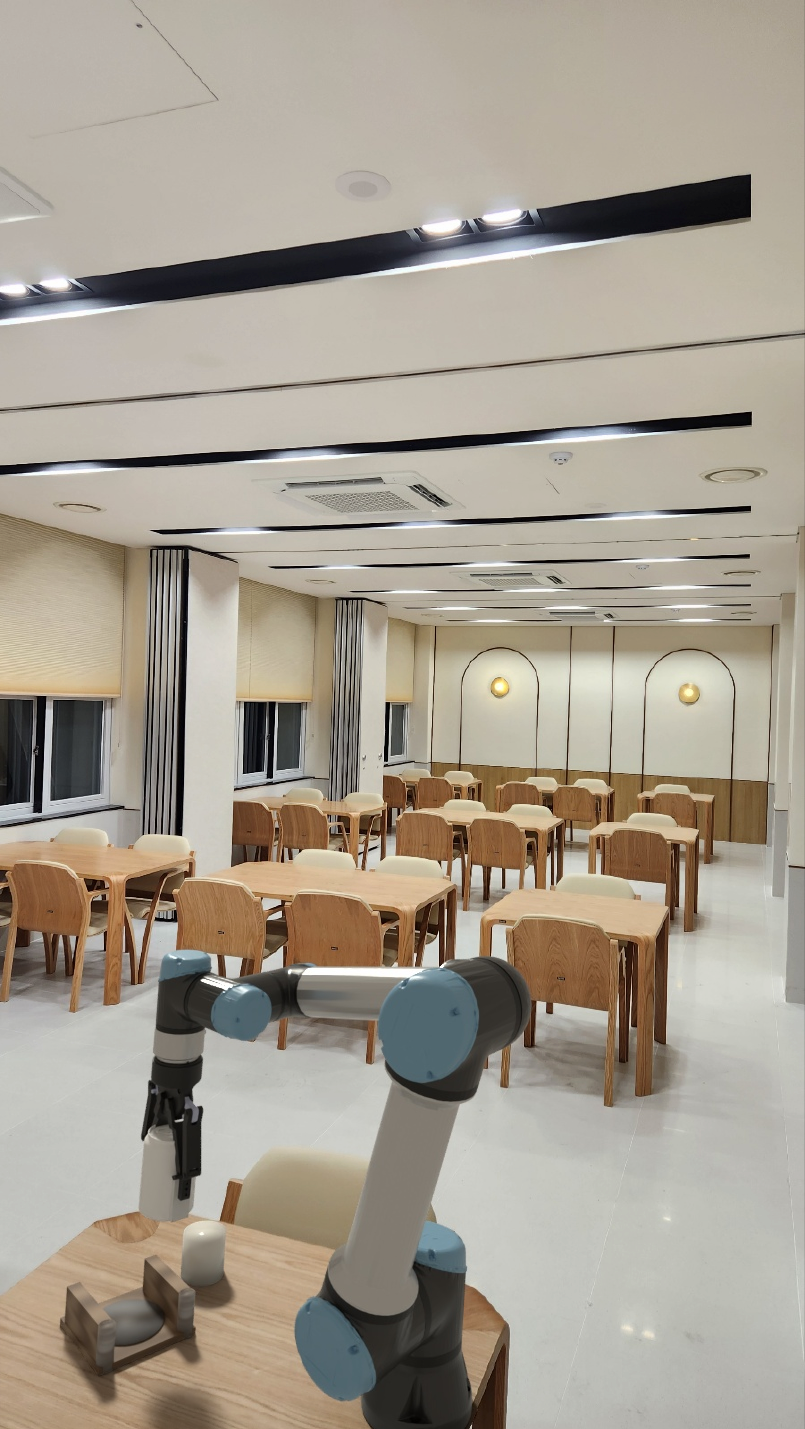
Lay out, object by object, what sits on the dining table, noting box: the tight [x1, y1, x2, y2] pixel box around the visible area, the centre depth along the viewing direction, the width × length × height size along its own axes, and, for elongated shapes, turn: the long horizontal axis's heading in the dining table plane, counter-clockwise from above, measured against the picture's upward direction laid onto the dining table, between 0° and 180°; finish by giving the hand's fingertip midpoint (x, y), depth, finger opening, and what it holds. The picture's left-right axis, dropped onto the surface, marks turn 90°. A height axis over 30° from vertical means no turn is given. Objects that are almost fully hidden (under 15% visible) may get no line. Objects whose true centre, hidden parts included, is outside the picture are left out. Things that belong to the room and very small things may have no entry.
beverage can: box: [138, 1120, 197, 1223], centre depth 137 cm, size 8×8×12 cm
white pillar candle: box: [180, 1220, 227, 1287], centre depth 151 cm, size 7×7×7 cm
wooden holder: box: [59, 1254, 197, 1377], centre depth 135 cm, size 14×15×6 cm
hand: (165, 1205), depth 137 cm, fingers closed on beverage can, 8 cm apart
